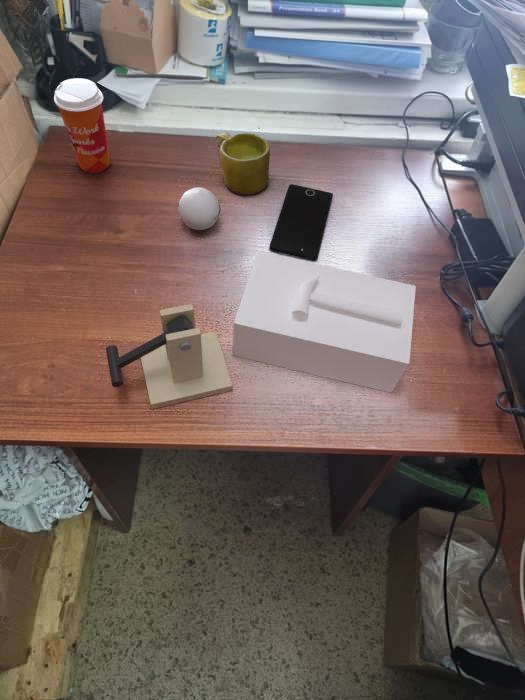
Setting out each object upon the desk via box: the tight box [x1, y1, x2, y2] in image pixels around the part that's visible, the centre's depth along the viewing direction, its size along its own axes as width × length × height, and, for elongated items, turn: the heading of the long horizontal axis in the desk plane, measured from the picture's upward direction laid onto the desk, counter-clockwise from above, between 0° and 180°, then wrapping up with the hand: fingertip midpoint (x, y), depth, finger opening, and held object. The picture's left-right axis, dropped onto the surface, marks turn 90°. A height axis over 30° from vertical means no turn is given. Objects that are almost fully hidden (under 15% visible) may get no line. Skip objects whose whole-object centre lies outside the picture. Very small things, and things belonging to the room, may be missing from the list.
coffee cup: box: [53, 77, 111, 174], centre depth 94 cm, size 8×8×15 cm
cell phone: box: [268, 183, 334, 262], centre depth 95 cm, size 9×18×1 cm, turn 166°
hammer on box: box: [232, 250, 417, 394], centre depth 77 cm, size 14×25×11 cm, turn 77°
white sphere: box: [177, 187, 221, 231], centre depth 91 cm, size 10×7×7 cm
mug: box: [216, 131, 271, 196], centre depth 98 cm, size 12×10×10 cm
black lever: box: [105, 315, 194, 388], centre depth 68 cm, size 13×6×2 cm, turn 107°
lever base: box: [140, 303, 234, 410], centre depth 71 cm, size 12×10×13 cm
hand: (16, 26), depth 84 cm, fingers open, 13 cm apart
